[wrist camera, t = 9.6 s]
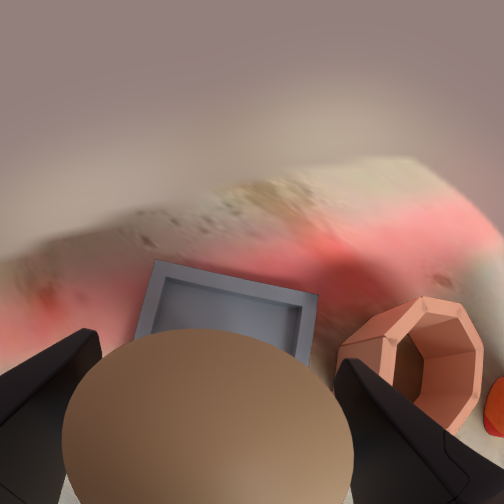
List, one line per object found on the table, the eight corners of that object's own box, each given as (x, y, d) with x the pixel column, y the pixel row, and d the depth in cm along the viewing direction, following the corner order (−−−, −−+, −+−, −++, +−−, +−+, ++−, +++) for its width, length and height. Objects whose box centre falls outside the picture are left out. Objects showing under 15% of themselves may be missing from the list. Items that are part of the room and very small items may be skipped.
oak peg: (253, 413, 14) (367, 534, 2) (188, 425, 13) (115, 572, 2) (239, 351, 15) (319, 301, 3) (174, 363, 14) (38, 344, 3)
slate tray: (274, 492, 12) (279, 502, 11) (118, 460, 12) (110, 468, 11) (310, 300, 17) (318, 294, 16) (160, 268, 17) (155, 259, 15)
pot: (422, 429, 15) (473, 436, 10) (324, 432, 14) (365, 452, 10) (434, 324, 17) (483, 308, 13) (343, 310, 17) (386, 288, 13)
